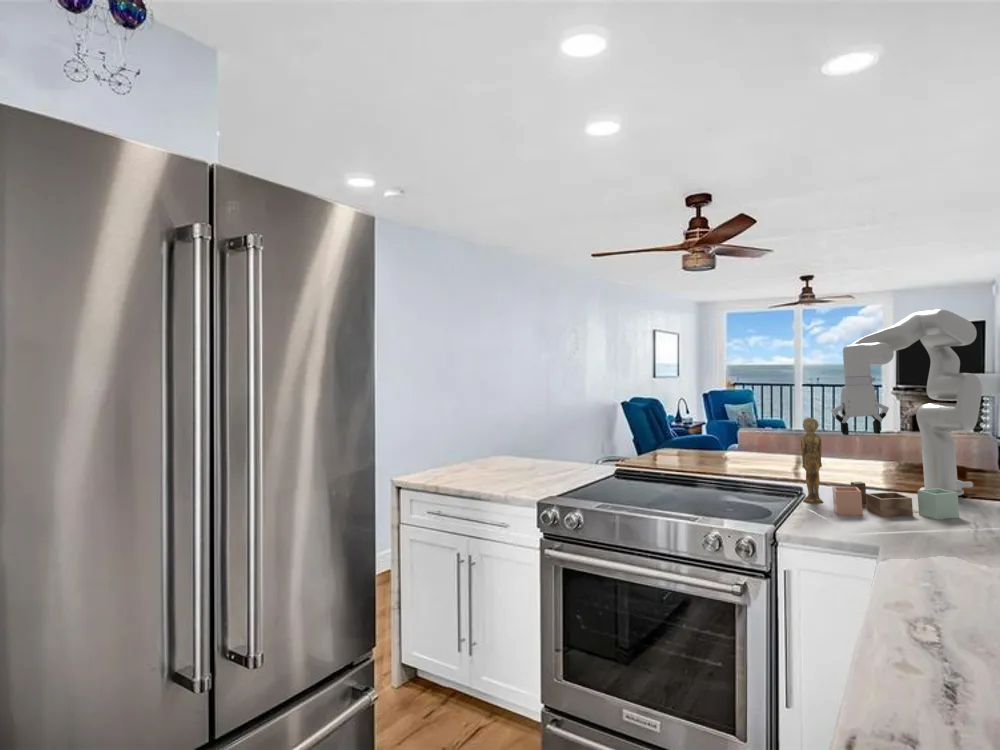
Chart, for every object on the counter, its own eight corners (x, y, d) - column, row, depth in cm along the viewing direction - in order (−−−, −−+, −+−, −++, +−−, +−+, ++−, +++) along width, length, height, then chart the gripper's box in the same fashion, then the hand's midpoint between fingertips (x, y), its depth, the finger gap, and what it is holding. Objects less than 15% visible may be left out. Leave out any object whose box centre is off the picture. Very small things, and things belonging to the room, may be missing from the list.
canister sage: (940, 514, 187) (938, 488, 187) (959, 519, 180) (957, 492, 180) (919, 516, 186) (917, 490, 186) (937, 521, 179) (935, 494, 179)
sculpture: (820, 501, 213) (814, 416, 213) (828, 505, 207) (822, 417, 207) (800, 502, 214) (794, 417, 214) (807, 506, 208) (801, 418, 208)
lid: (867, 503, 208) (865, 479, 208) (882, 509, 198) (880, 484, 198) (837, 504, 208) (836, 480, 209) (851, 510, 199) (849, 485, 199)
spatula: (878, 505, 202) (878, 503, 202) (889, 504, 203) (888, 502, 203) (910, 515, 188) (910, 512, 188) (921, 514, 188) (921, 511, 188)
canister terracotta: (858, 511, 196) (856, 487, 196) (862, 517, 190) (861, 491, 190) (833, 511, 199) (832, 486, 199) (837, 516, 192) (835, 491, 192)
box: (896, 510, 194) (895, 492, 194) (913, 517, 185) (911, 498, 185) (867, 512, 195) (865, 493, 195) (881, 518, 186) (880, 499, 186)
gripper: (880, 380, 203) (883, 431, 203) (825, 383, 205) (828, 434, 205) (892, 380, 195) (895, 433, 195) (834, 383, 197) (838, 436, 197)
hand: (861, 434), depth 200 cm, fingers open, 9 cm apart
